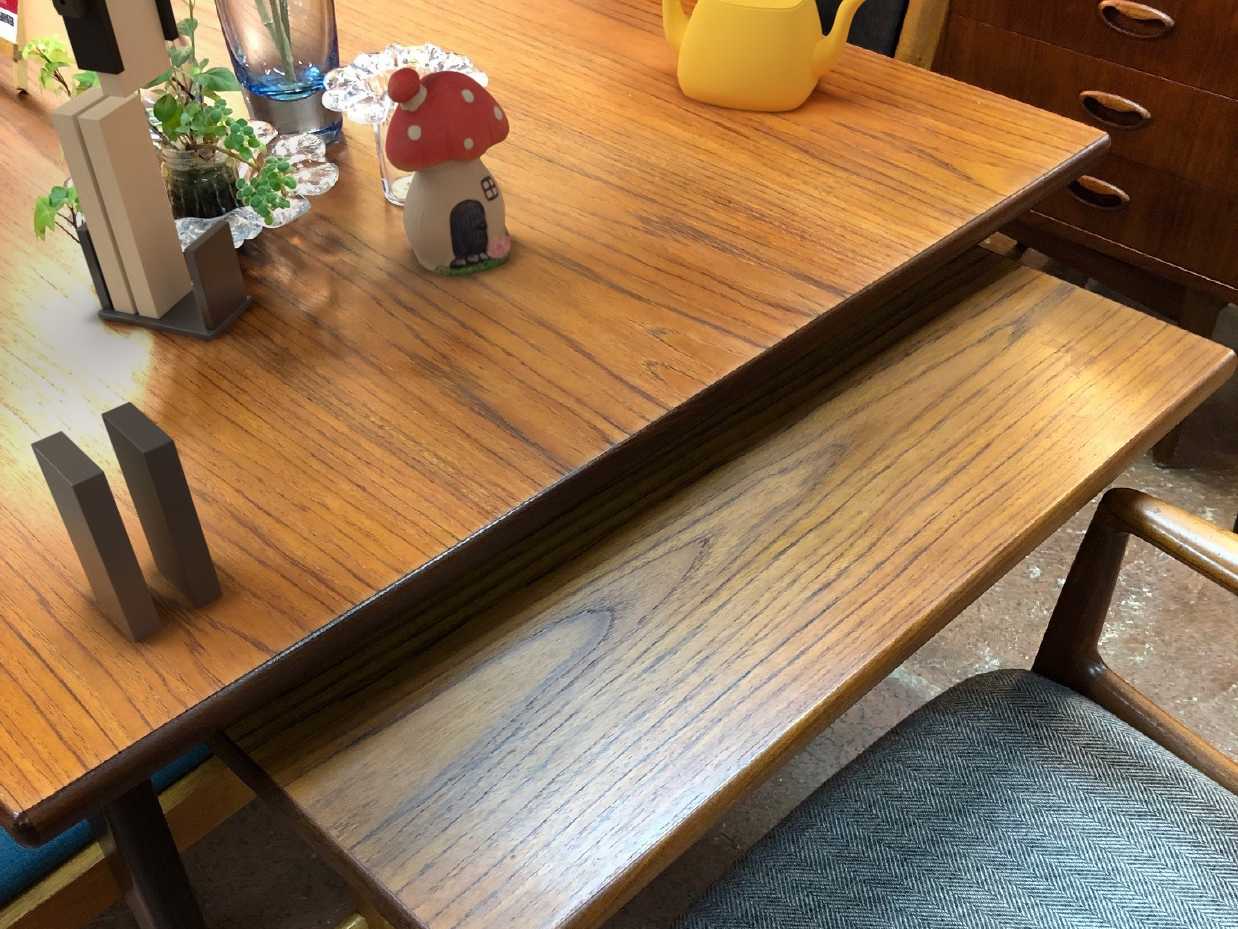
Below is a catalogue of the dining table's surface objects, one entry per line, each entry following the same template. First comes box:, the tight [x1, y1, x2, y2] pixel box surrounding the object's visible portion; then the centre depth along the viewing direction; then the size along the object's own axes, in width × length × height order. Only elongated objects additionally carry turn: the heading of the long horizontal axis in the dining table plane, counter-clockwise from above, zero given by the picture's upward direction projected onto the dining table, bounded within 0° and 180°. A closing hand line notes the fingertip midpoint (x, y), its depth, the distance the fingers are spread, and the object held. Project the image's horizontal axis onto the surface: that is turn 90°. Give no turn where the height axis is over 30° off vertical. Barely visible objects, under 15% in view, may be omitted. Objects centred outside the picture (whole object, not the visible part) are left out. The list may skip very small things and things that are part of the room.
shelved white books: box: [49, 86, 193, 319], centre depth 81 cm, size 4×4×14 cm
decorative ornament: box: [384, 67, 512, 276], centre depth 87 cm, size 9×7×15 cm
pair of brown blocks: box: [30, 401, 224, 643], centre depth 61 cm, size 5×4×11 cm
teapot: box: [661, 0, 866, 113], centre depth 113 cm, size 22×16×11 cm
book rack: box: [75, 219, 254, 342], centre depth 83 cm, size 9×6×7 cm, turn 72°
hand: (129, 51), depth 72 cm, fingers closed on white book, 5 cm apart
